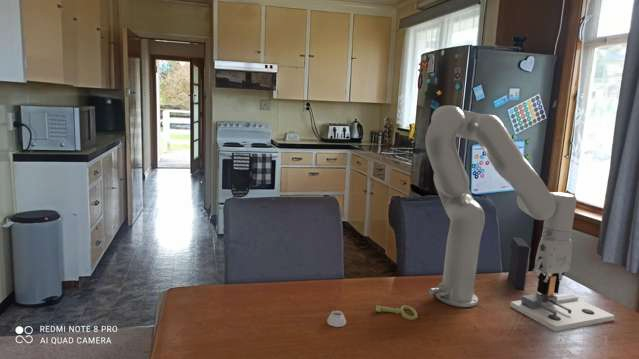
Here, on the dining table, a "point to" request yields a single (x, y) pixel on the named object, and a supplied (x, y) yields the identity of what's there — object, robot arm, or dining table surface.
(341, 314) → the white jar
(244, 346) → the dining table surface
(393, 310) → the key
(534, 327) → the dining table surface
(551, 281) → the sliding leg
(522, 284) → the calculator
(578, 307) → the gauge board
